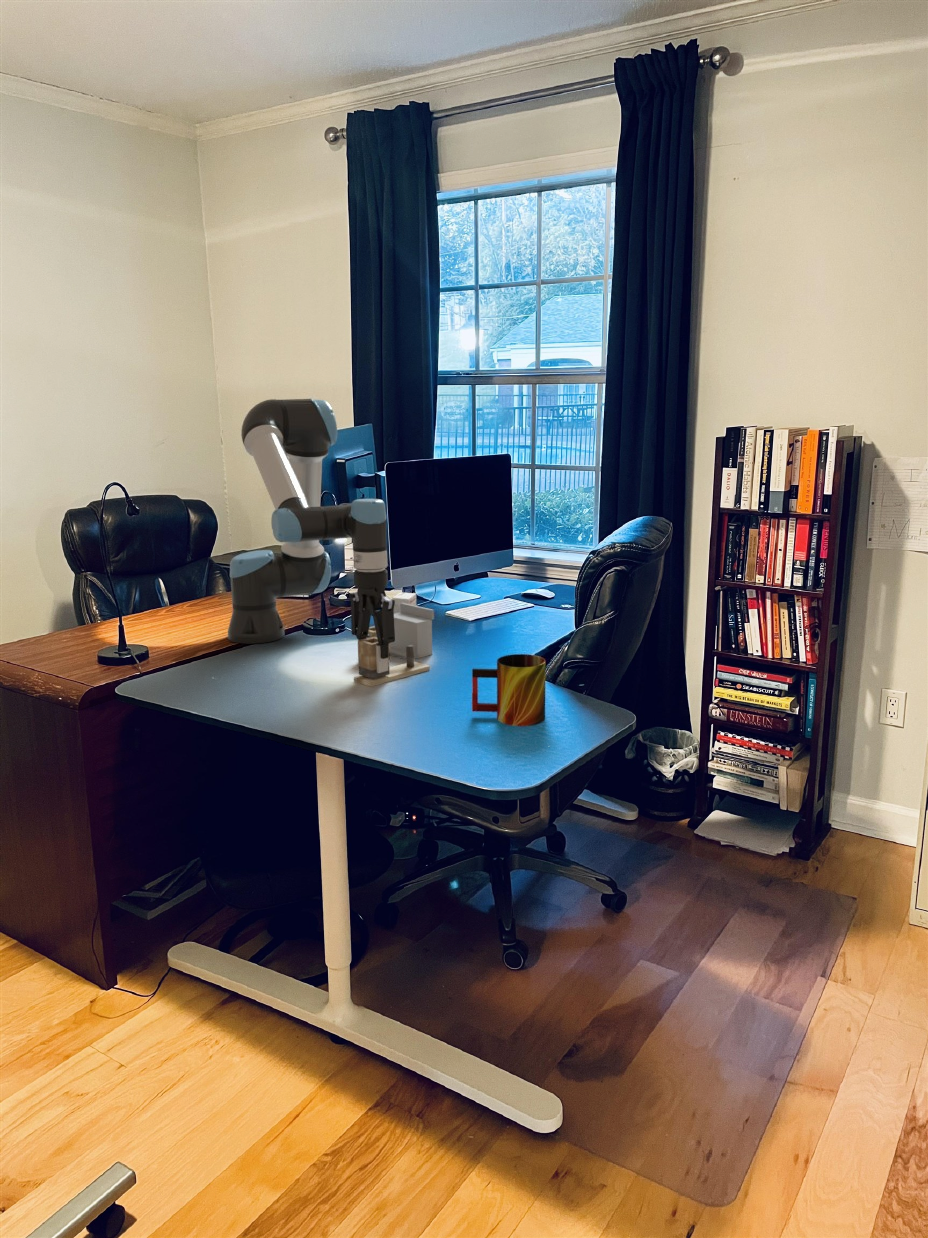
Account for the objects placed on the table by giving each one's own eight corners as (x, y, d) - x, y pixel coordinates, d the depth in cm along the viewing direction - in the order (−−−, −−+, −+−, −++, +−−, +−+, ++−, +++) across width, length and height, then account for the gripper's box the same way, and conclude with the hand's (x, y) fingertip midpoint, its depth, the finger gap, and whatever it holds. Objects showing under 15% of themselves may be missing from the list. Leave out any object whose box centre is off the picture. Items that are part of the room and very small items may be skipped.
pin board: (354, 681, 206) (353, 655, 204) (413, 665, 218) (412, 641, 217) (370, 686, 201) (369, 660, 200) (429, 670, 214) (429, 645, 212)
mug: (470, 715, 182) (470, 658, 179) (534, 708, 186) (534, 652, 183) (486, 731, 173) (486, 671, 170) (552, 723, 177) (553, 664, 174)
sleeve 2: (358, 674, 206) (357, 640, 204) (375, 669, 209) (374, 636, 207) (372, 679, 202) (371, 644, 200) (389, 674, 206) (388, 640, 204)
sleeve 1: (361, 660, 223) (360, 629, 221) (377, 656, 226) (376, 625, 224) (374, 664, 219) (373, 632, 217) (390, 660, 222) (389, 628, 221)
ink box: (410, 641, 240) (408, 598, 237) (392, 641, 241) (390, 598, 238) (418, 634, 248) (417, 592, 245) (400, 633, 249) (399, 591, 246)
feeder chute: (377, 651, 230) (376, 608, 228) (403, 645, 236) (402, 602, 234) (408, 660, 222) (407, 615, 219) (434, 653, 228) (433, 609, 225)
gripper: (332, 566, 204) (336, 664, 209) (383, 576, 191) (387, 680, 196) (358, 562, 209) (362, 658, 214) (410, 571, 196) (412, 673, 202)
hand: (374, 668), depth 205 cm, fingers open, 5 cm apart
